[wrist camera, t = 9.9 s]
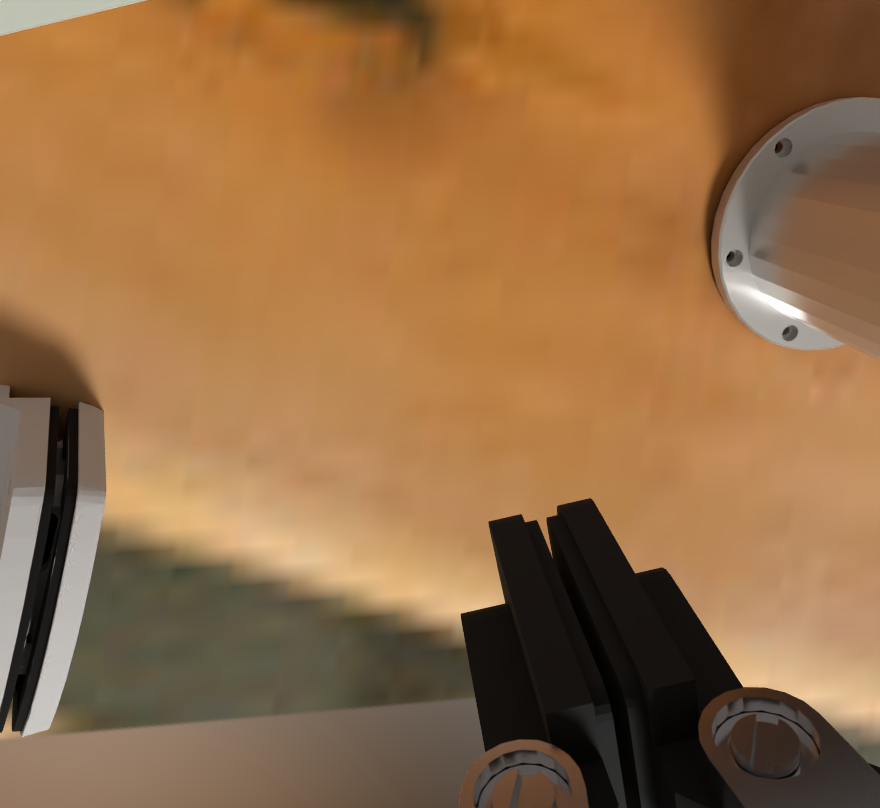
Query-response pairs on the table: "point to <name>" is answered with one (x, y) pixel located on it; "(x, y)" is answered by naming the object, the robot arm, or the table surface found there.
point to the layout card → (49, 12)
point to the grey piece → (23, 543)
